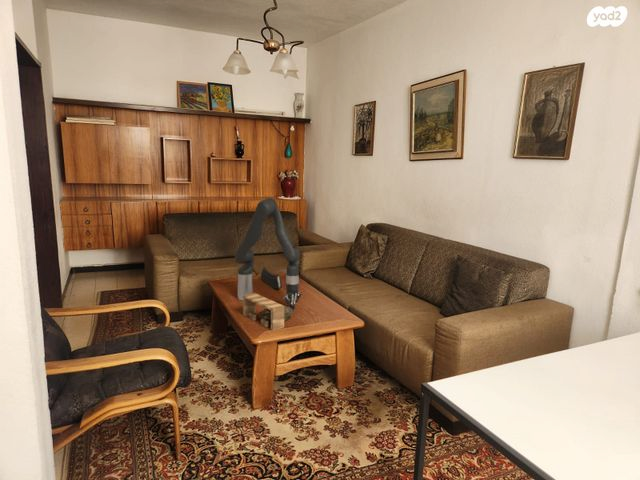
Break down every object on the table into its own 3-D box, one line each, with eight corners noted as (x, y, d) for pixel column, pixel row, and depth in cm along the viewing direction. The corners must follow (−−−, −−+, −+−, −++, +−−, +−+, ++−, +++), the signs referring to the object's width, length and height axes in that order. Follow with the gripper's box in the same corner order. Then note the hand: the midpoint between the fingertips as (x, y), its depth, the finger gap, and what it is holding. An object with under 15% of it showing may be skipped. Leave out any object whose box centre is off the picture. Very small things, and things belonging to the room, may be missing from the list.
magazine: (259, 267, 308) (275, 265, 282) (263, 267, 310) (279, 265, 284) (262, 290, 307) (278, 290, 281) (266, 290, 309) (282, 289, 283)
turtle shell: (253, 306, 237) (285, 296, 244) (256, 320, 239) (288, 310, 246) (261, 316, 222) (294, 305, 229) (264, 330, 224) (297, 319, 231)
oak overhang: (243, 315, 238) (242, 295, 236) (253, 312, 243) (253, 292, 241) (273, 330, 217) (273, 309, 215) (284, 327, 222) (284, 306, 220)
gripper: (297, 278, 248) (296, 305, 251) (279, 282, 239) (279, 310, 242) (305, 281, 243) (304, 309, 246) (287, 285, 234) (287, 314, 237)
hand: (292, 309), depth 244 cm, fingers closed
